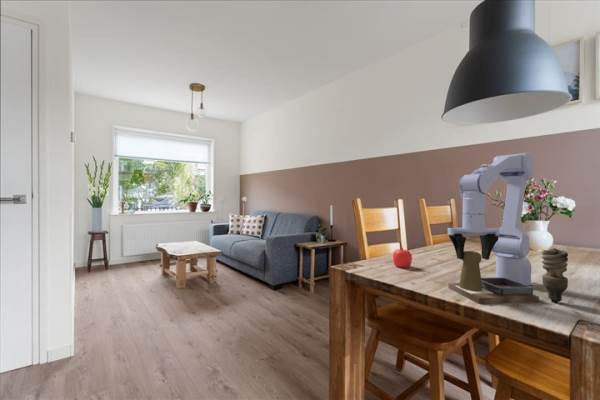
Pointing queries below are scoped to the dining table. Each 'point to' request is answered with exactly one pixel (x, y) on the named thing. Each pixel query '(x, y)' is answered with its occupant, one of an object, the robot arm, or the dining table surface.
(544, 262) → the light bulb
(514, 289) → the dark grey tray
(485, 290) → the mat
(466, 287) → the cork
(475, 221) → the robot arm
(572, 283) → the dining table surface
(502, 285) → the walnut board
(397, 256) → the apple
